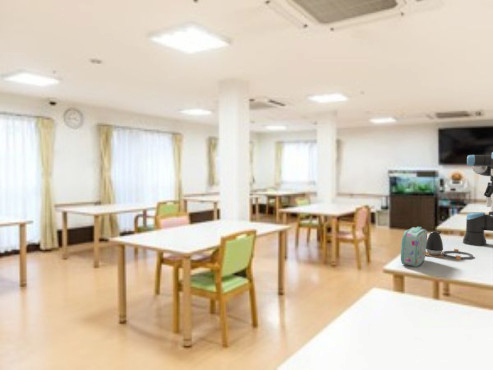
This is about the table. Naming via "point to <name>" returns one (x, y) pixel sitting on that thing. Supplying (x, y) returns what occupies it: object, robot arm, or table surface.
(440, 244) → the black rounded piece
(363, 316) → the table surface
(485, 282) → the table surface
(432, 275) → the table surface
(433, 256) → the coaster
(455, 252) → the collar
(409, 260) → the lunch box
